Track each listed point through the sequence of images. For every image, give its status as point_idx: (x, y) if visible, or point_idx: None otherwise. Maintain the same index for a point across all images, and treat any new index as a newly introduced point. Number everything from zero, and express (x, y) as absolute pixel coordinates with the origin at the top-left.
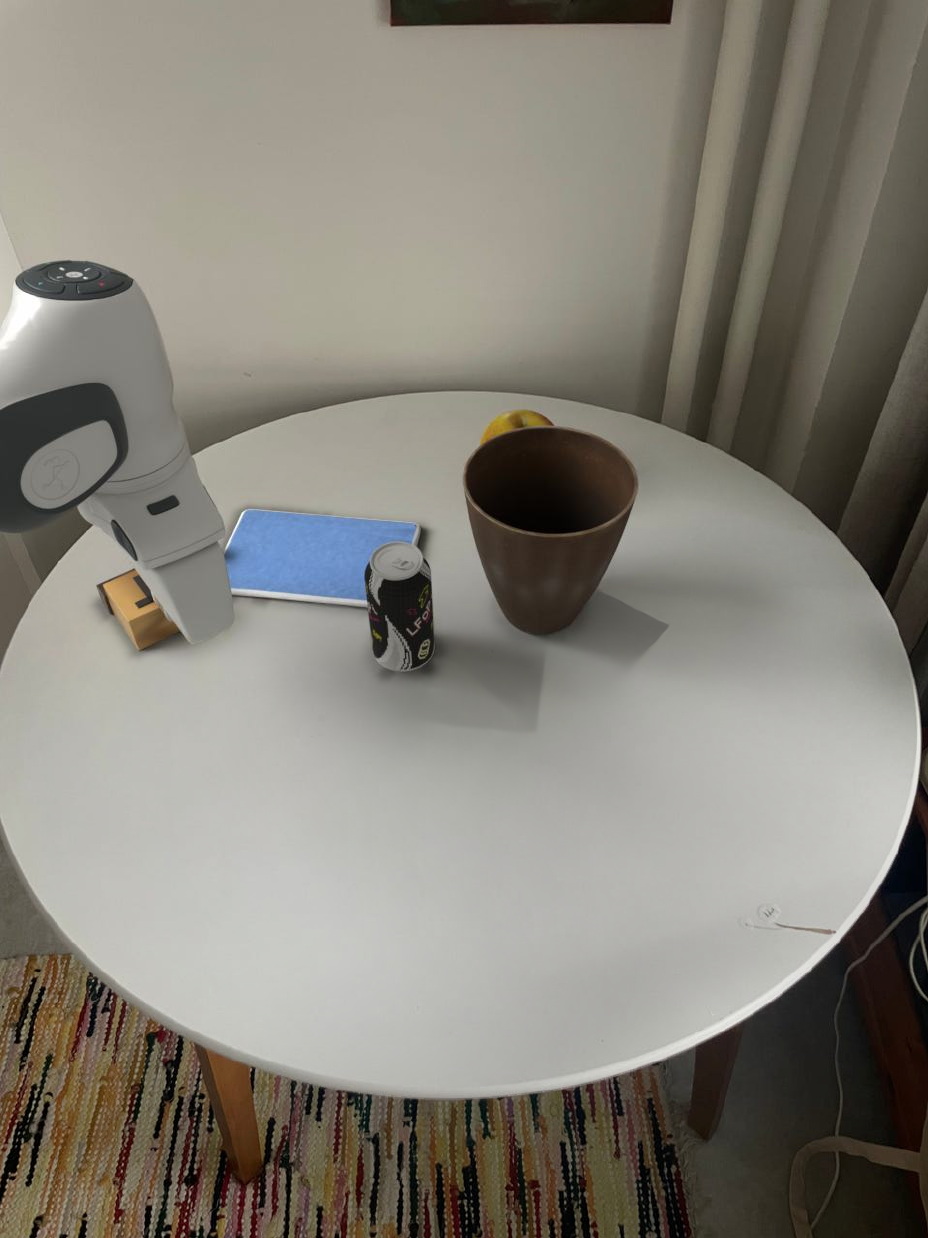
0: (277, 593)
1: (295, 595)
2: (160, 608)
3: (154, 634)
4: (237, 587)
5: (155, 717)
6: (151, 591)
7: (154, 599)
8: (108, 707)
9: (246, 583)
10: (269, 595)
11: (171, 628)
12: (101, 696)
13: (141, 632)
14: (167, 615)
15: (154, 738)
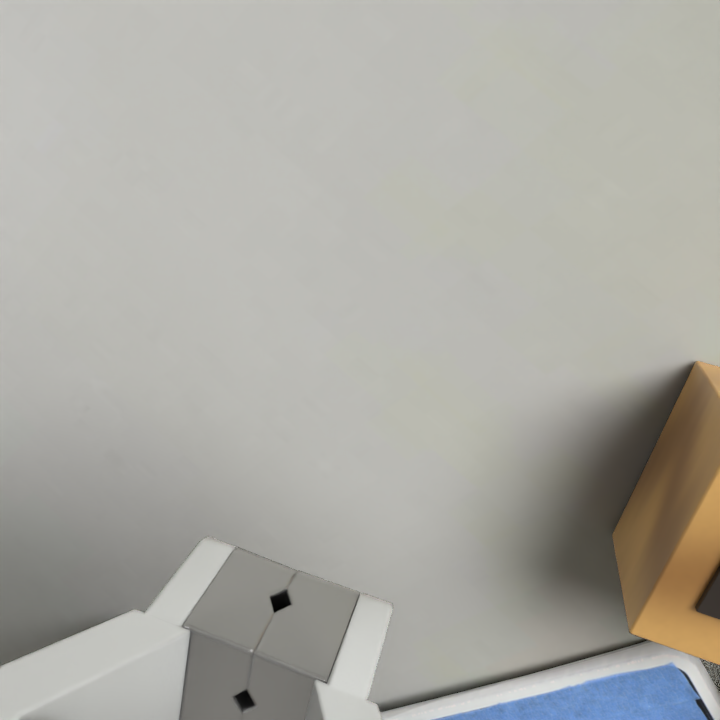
0: (478, 704)
1: (434, 714)
2: (292, 582)
3: (675, 436)
4: (595, 684)
5: (419, 204)
6: (353, 675)
7: (358, 621)
8: (587, 123)
9: (584, 703)
10: (496, 691)
11: (648, 483)
12: (653, 138)
13: (702, 418)
14: (180, 566)
15: (354, 147)
